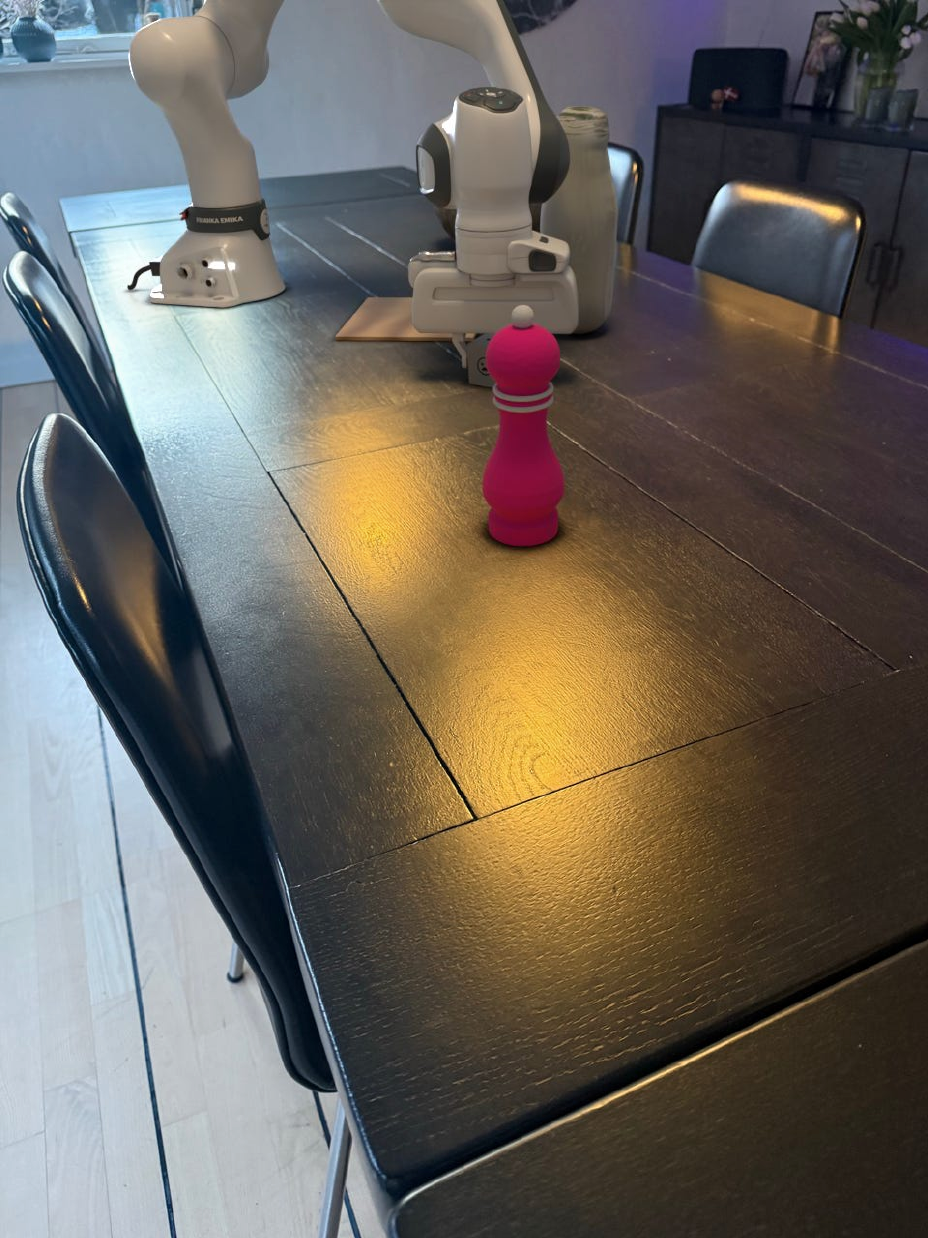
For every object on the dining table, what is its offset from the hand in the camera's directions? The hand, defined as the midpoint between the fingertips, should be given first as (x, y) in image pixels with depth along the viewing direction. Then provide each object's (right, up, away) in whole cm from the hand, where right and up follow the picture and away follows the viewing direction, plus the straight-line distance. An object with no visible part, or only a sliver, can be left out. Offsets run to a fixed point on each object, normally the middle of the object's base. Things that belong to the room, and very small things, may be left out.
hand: (496, 367), depth 112 cm
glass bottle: (+12, +9, +16) cm, 22 cm away
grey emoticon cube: (0, -1, +1) cm, 2 cm away
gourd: (+3, +40, +60) cm, 72 cm away
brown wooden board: (-11, +14, +23) cm, 29 cm away
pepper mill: (+1, -24, -31) cm, 39 cm away
